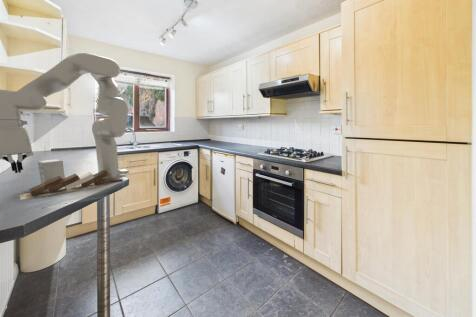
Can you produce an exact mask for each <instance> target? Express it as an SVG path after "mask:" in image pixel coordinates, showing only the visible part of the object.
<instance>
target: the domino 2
mask: <svg viewBox="0 0 476 317" xmlns="http://www.w3.org/2000/svg"><path fill="white" fill-rule="evenodd" d="M93 175H94V174H93V173H92V172H87V173H85V174H82V175H80V176H78V177H79V178H80V179H79V180H77V181H75V182H73V183H71V184H69V185H67V186H65V188H66V189H67V190H70V189H72V188H74V187H76V186H78V185H81V184H82V183H84V182H86V181H89V180H91V179H93V178H95V177H94V176H93Z"/></svg>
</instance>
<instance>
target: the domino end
mask: <svg viewBox="0 0 476 317" xmlns="http://www.w3.org/2000/svg"><path fill="white" fill-rule="evenodd" d="M62 182H64V180H63V179H62V177H61V176H58V177H55V178H53V179H51V180H49V181H46V182H44V183H42V184H41V183H40V184H38V185H35V186H34V187H30V188H29V189H28V193H31V195H32V196H35V195H37V194H39V193H41V192H43V191H45V190H48V189H49V188H52V187H54V186H56V185H58V184H60V183H62Z"/></svg>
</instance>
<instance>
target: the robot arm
mask: <svg viewBox="0 0 476 317" xmlns="http://www.w3.org/2000/svg"><path fill="white" fill-rule="evenodd" d="M120 73H121V67H120V65H119V63H118V62H117V61H115V60H114V59H112V58H109V57H105V56H101V55H97V54H93V53H88V52H78V53H73V54H71V55H68V56H67V57H65V58H64V59H63V60H61V61H59V63H56V64H55V65H54V66H52V68H50V69H49V70H46V71H45V72H44V73H42V74H41V75H39V76H38V77H36V78H35V79H33V80H32V81H30V82H28V83H26V84H25V85H24V86H22V87H21V88H19V89H18V90H17V91H13V90H10V89H0V160H3V161H6V162H8V163H10V167H11V171H12V172H14V173H15V174H18V173H22V171H23V170H24V167H23V161H24V160H25V159H26V158H28V157H32V156H34V152H33V150H32V143H31V139H30V136H29V132H28V130H27V129H26V127H23V126H24V125H28V122H27V120H22V117H21V116H22V115H21V112H38V111H41V110H43V109H44V108H45V107H46V106H47V99H46V98H47V97H49V96H51V95H53V94H57V93H59V92H62V91H63V90H65V89H67V88H69V87H70V86H71V85H72V84H73V83H75V82H76V81H77V80H79V78H81V77H82V76H84V75H85V74H86V75H87V74H90V75H91V76H92V77H93V79H94V80H95V81H96V82H97V84H98V88H99V90H98V100H97V112H98V113H99V114H100V115H101V116H102V117H107V118H99V119H96V120H95V121H94V122H93V124H92V126H91V131H92V135H93V139H94V142H95V152H96V153H95V154H96V160H97V162H96V163H97V171H98V172H100V171H102V170H105V171H107V172H108V174H109V175H108V176H106V177H104V178H102V179H105V178H121V177H123V175H124V174H125V175H127V174H129V173H130V172H129V169H120V167H119V157H118V146H117V141H116V139H115V138H120V137H121V138H122V137H123V136H124V135H125V133H126V129H127V124H128V115H129V107H128V104H127V103H126V102H127V101H126V100H125V99H123V98H121V97H119V89H118V88H119V87H118V85H117V83H116V82H115V80H114V79H113V78H116V77H118V76H119V75H120ZM13 155H17V160H16V161H15V160H14V159H13V158H14V157H13ZM98 172H97V173H98Z"/></svg>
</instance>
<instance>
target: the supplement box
mask: <svg viewBox="0 0 476 317" xmlns="http://www.w3.org/2000/svg"><path fill="white" fill-rule="evenodd" d="M37 165H38V166H37V167H38V172H39V173H38V174H39V178H40V180H39V181H40V184H42V183H44V182H46V181H49V180H51V179H53V178H55V177H58V176H61V177H62V179H64V178H66V177H65V176H66V175H65V168H64V162H63V160H62V159H58V158H57V159H54V158H53V159H46V160H38V161H37Z"/></svg>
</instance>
